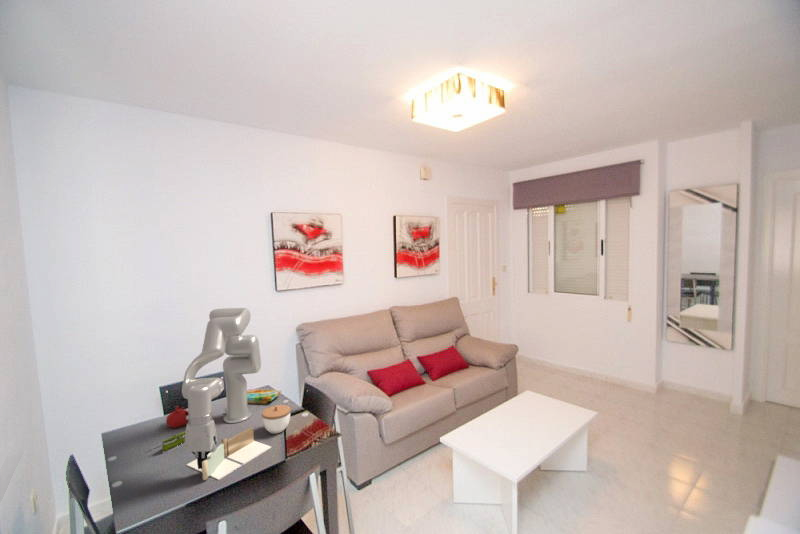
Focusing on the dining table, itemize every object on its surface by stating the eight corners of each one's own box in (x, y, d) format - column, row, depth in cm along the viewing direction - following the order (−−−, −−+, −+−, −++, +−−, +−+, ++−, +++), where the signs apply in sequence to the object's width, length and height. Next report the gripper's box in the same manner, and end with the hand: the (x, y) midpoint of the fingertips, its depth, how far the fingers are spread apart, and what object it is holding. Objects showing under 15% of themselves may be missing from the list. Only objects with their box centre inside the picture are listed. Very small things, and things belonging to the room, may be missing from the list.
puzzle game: (248, 388, 205) (281, 388, 203) (249, 396, 205) (281, 396, 203) (237, 396, 194) (271, 397, 191) (237, 404, 194) (271, 405, 191)
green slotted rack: (197, 430, 154) (184, 420, 159) (149, 451, 138) (137, 440, 143) (196, 444, 156) (183, 434, 160) (148, 467, 139) (136, 455, 144)
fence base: (221, 457, 141) (220, 439, 141) (251, 440, 154) (250, 423, 153) (224, 458, 140) (223, 440, 140) (254, 441, 153) (253, 424, 152)
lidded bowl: (295, 423, 169) (294, 401, 169) (284, 437, 157) (283, 412, 156) (270, 422, 171) (269, 400, 170) (257, 436, 158) (256, 412, 158)
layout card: (186, 465, 137) (186, 464, 137) (240, 436, 158) (240, 435, 158) (218, 480, 127) (218, 478, 127) (271, 447, 148) (271, 446, 148)
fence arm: (201, 480, 127) (201, 462, 126) (220, 458, 140) (220, 442, 140) (206, 479, 127) (205, 462, 126) (224, 458, 140) (224, 442, 140)
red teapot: (170, 432, 164) (168, 413, 163) (163, 425, 171) (162, 407, 170) (193, 424, 172) (192, 405, 171) (186, 418, 178) (184, 400, 177)
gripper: (174, 423, 127) (176, 472, 128) (214, 423, 127) (216, 473, 127) (187, 414, 135) (190, 460, 136) (225, 414, 134) (227, 461, 135)
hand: (202, 466), depth 131 cm, fingers closed
